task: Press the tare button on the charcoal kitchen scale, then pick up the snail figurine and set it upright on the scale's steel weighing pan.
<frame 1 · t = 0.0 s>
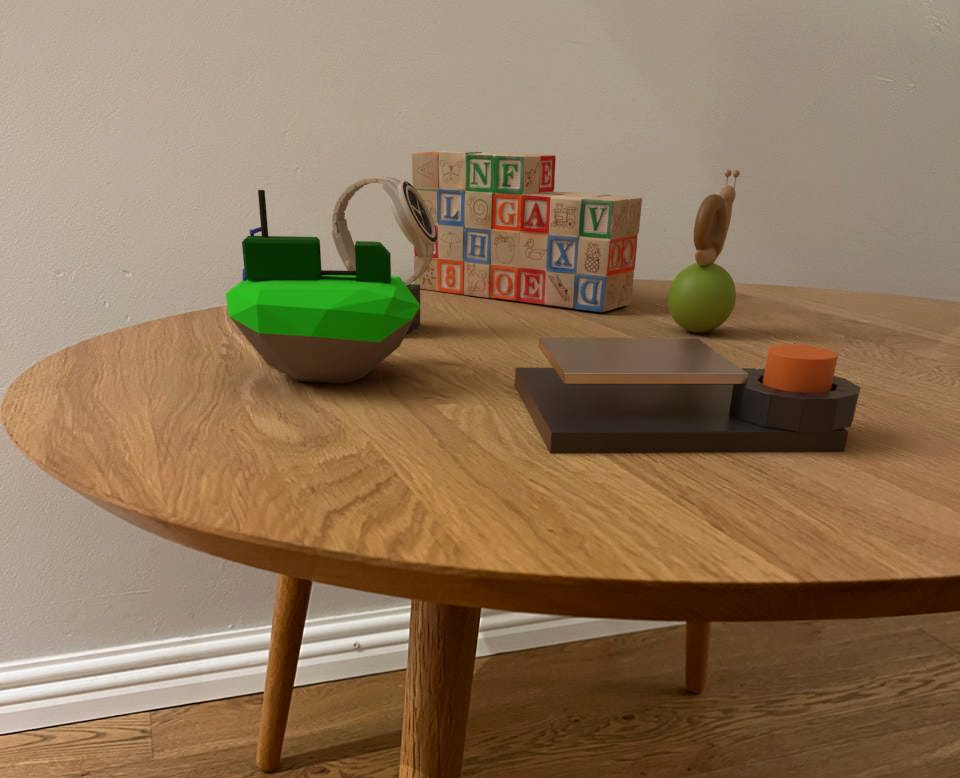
floating island model: (329, 380, 61), on the table
snail figurine: (698, 333, 78), on the table
scale pan: (630, 416, 55), resting on scale
scale: (663, 416, 55), on the table
watch: (387, 331, 75), on the table
stack of blocks: (519, 298, 90), on the table
tare button: (799, 370, 50), point 4 cm above the table, slide at 0.1 cm
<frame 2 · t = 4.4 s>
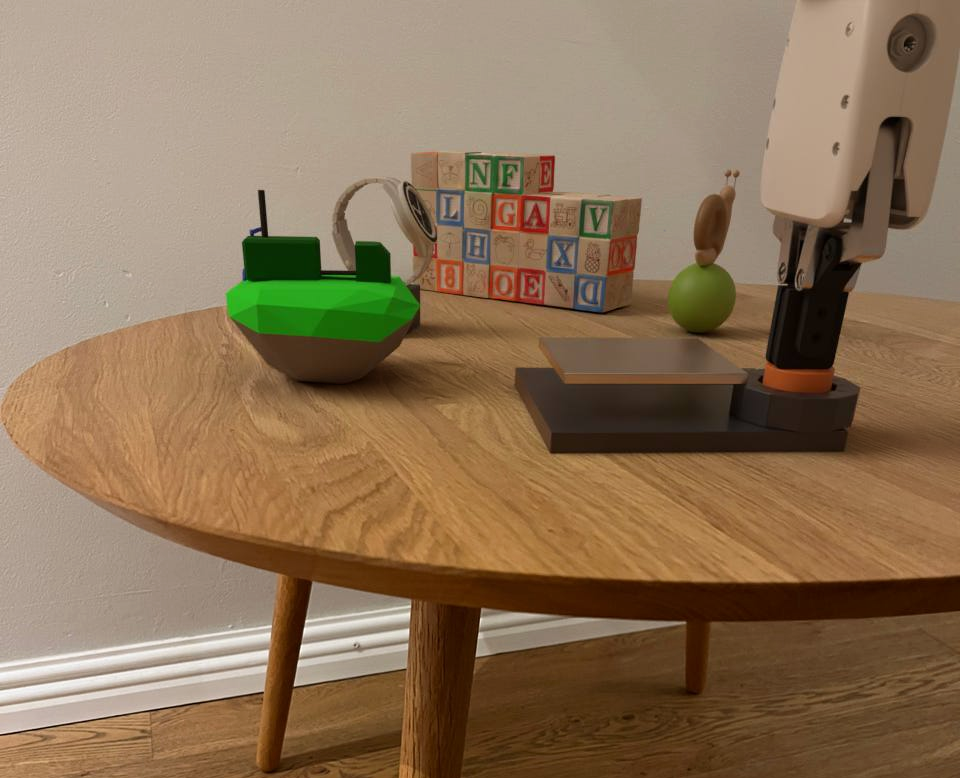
hand: (798, 365, 50), 4 cm above the table, tool pointing down, fingers closed
tare button: (796, 384, 51), point 3 cm above the table, slide at -0.6 cm, touching gripper
everything else where it was.
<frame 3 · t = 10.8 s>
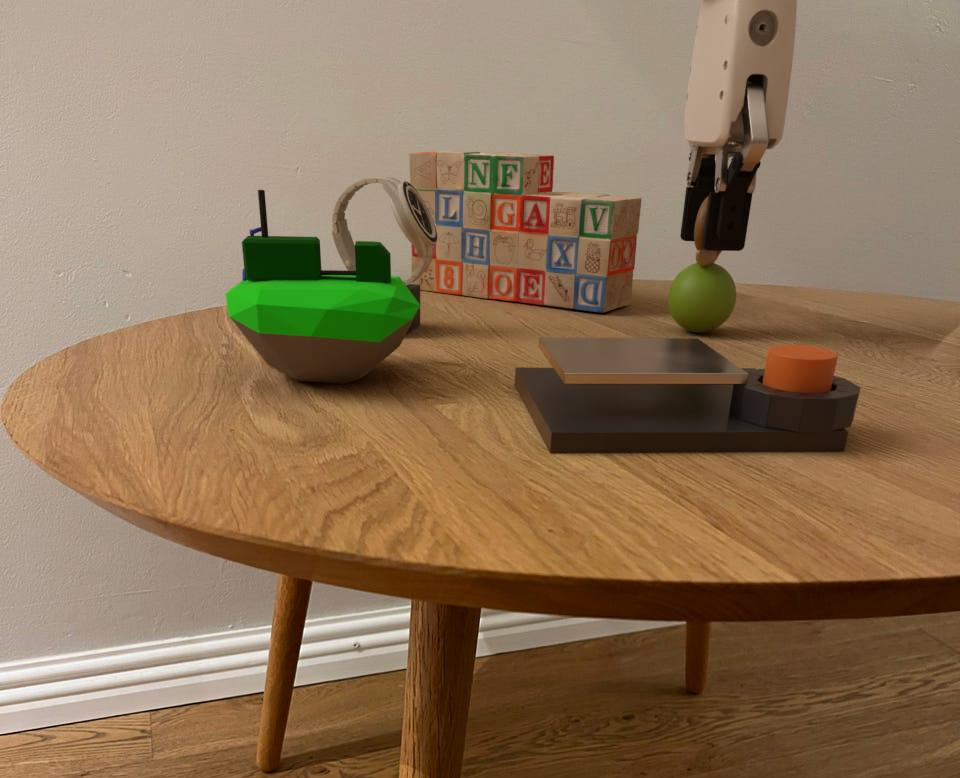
hand: (710, 242, 74), 7 cm above the table, tool pointing down, fingers closed on snail figurine, 5 cm apart
snail figurine: (698, 333, 78), on the table, touching gripper
tare button: (799, 370, 50), point 4 cm above the table, slide at 0.1 cm
everything else where it was.
when the fingers open (10 cm above the table, at t = 17.5 s): snail figurine stays where it is, resting on scale pan.
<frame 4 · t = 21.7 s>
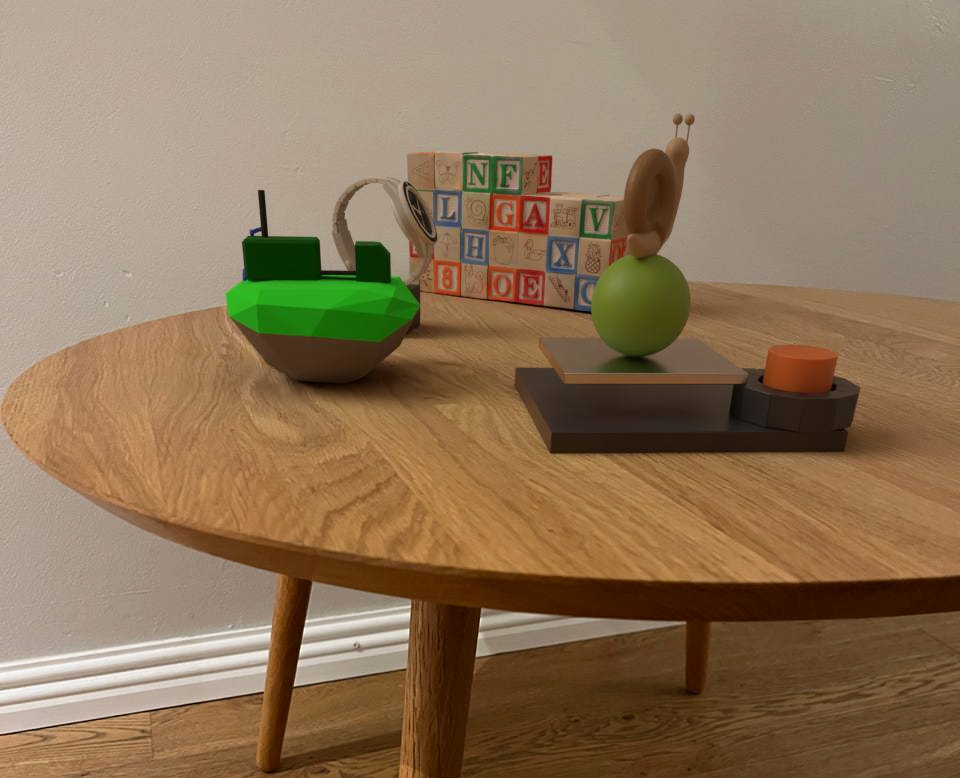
snail figurine: (638, 357, 53), point 3 cm above the table, touching scale pan
everything else where it was.
at the end: tare button pushed in 1.1 cm at the most during the clip, back to where it started at the end; tare button slide at 0.1 cm; snail figurine inside the target area on the scale (0.1 cm from its centre), point 3.4 cm above the scale's base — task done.
